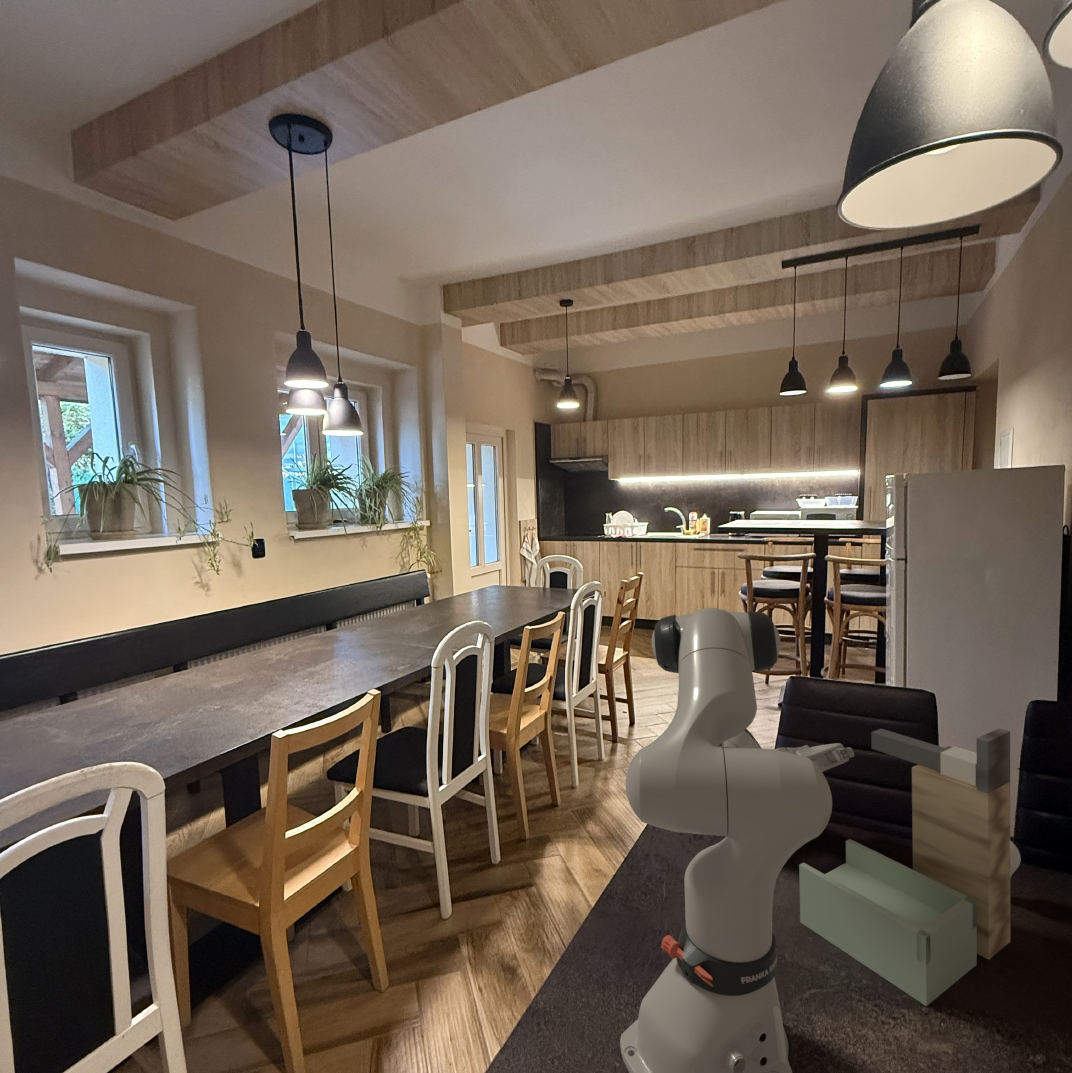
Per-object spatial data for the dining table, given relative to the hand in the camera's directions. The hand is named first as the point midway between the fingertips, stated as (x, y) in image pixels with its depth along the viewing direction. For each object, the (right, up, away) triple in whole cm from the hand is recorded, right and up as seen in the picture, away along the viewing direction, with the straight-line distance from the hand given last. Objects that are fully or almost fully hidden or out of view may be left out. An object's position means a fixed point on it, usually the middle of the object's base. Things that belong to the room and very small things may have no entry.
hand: (836, 758), depth 115 cm
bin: (-2, -22, -20) cm, 30 cm away
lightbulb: (+23, -21, -10) cm, 33 cm away
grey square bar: (+8, +5, -14) cm, 17 cm away
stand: (+12, -22, -18) cm, 30 cm away
